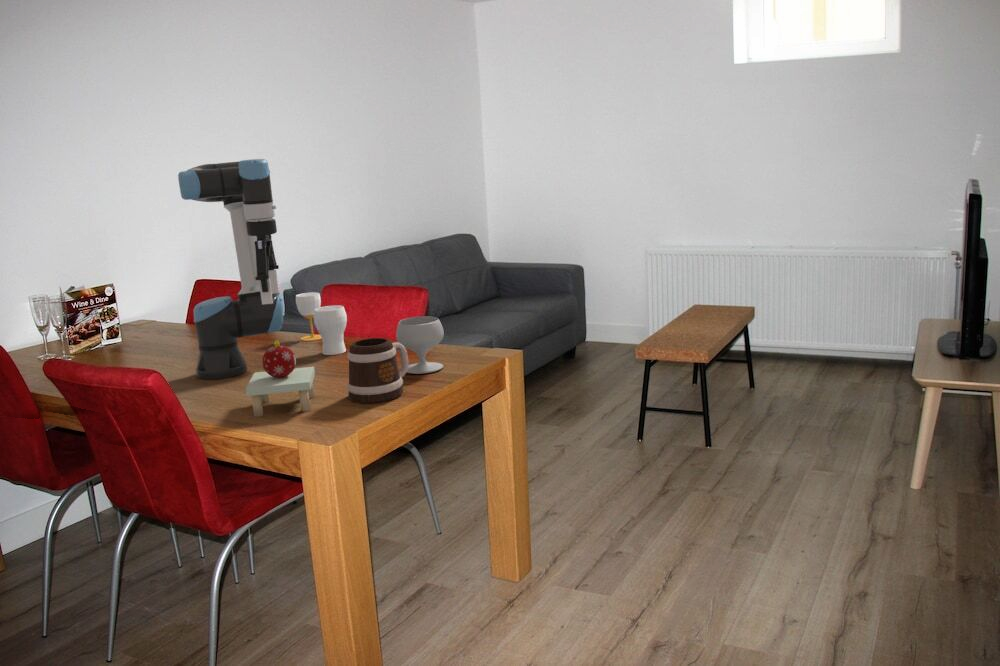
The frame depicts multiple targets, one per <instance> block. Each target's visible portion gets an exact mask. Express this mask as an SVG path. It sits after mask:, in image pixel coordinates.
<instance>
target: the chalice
mask: <svg viewBox="0 0 1000 666" xmlns="http://www.w3.org/2000/svg"><path fill="white" fill-rule="evenodd" d="M444 335H445V333H444V327H443V325H442V323H441V321H440V319H439V318H438V317H437V316H430V315H425V316H423V315H422V316H420V315H419V316H413V317H407V318H403V319H401V320H400V321H399V322H398V323H397V328H396V333H395V338H396V342H399V343H400V344H402V345H403V346H404V347H405V349H406V350H410V351H412V352H414V353H415V354H416V355H417V356H418V359H419V360H418V362H416V363H412V364H408V370H407V372H406V373H405V374H412V375H413V374H414V375H419V374H420V375H421V374H430V373H435V372H438V371H441V370H442V369H443V368H444V366H445V365H444V364H442V363H439V362H436V361H435V362H434V361H433V362H432V361H427V360H426V356H427V353H428V352H429V351H430V350H432V349H433V348H434V347H435V346H437V345H439V343H441V342H442V340H443V338H444Z"/></svg>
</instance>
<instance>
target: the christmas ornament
mask: <svg viewBox="0 0 1000 666" xmlns="http://www.w3.org/2000/svg"><path fill="white" fill-rule="evenodd" d="M273 342H274V343H273V346H270V348H268V349H267V350H266V351H265V352H264V354H263V356H262V359H261V360H262V361H261V363H262V367H263V370H264V372H265V371H266V372H267V373H268V374H269V375H270V376H272V377H276V378H282V377H286V376H288V375H289V374H290V373H292V371H293V370H294V369H295V368H296V366H297V365H296V364H297V358H296V356H295V353H294V352H293V350H292V349H291V348H290V347H288V346H287V345H282V344H281V343H280V341H279V340H277V339H276V340H274V341H273Z"/></svg>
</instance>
